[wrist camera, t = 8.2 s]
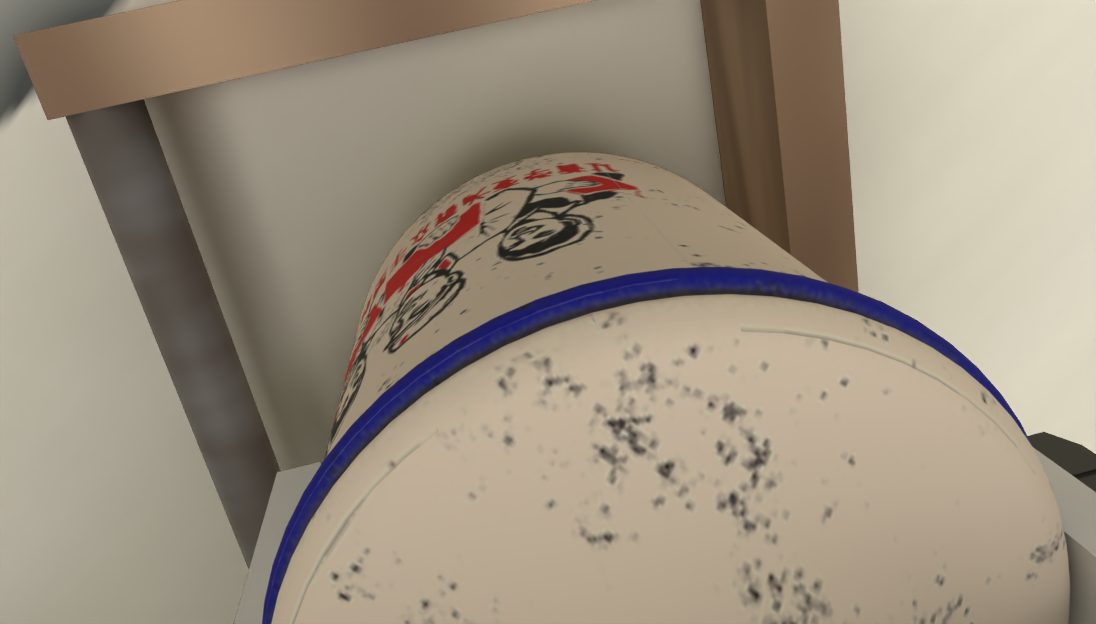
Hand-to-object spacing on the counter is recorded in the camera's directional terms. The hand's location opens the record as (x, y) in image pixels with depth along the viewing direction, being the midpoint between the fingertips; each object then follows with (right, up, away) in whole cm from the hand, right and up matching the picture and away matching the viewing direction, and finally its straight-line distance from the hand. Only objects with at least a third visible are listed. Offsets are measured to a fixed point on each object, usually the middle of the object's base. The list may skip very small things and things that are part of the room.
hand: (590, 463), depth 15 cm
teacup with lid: (-1, +1, +3) cm, 3 cm away
